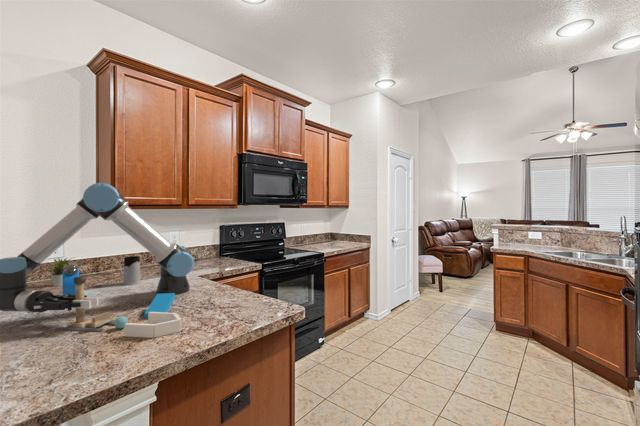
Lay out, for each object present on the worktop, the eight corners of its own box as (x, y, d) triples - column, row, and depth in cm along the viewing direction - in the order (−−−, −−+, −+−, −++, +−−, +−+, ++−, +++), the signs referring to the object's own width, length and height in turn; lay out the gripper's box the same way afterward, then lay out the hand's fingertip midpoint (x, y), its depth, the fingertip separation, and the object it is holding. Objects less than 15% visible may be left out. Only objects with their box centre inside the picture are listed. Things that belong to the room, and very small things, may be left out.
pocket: (124, 336, 100) (124, 324, 100) (150, 322, 112) (150, 311, 112) (169, 338, 98) (169, 326, 98) (190, 324, 110) (190, 313, 110)
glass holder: (131, 285, 168) (130, 258, 168) (112, 283, 173) (112, 257, 173) (144, 282, 177) (144, 256, 177) (126, 280, 181) (126, 255, 181)
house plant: (84, 282, 178) (84, 254, 178) (62, 288, 164) (61, 257, 164) (62, 281, 179) (61, 254, 179) (38, 287, 165) (37, 257, 165)
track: (55, 329, 106) (55, 327, 106) (73, 322, 113) (73, 319, 113) (101, 331, 104) (101, 329, 104) (117, 324, 111) (117, 321, 111)
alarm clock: (64, 294, 151) (63, 264, 151) (79, 292, 155) (79, 263, 155) (62, 300, 141) (62, 268, 140) (79, 298, 144) (79, 266, 144)
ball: (127, 325, 110) (127, 314, 110) (128, 328, 107) (128, 317, 107) (114, 327, 107) (113, 316, 107) (114, 331, 104) (114, 319, 104)
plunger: (64, 328, 106) (63, 279, 106) (80, 322, 113) (80, 275, 112) (95, 330, 105) (94, 279, 105) (110, 323, 111) (109, 275, 111)
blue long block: (165, 328, 119) (178, 302, 136) (163, 312, 117) (176, 288, 134) (146, 329, 118) (162, 303, 135) (144, 313, 116) (160, 289, 133)
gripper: (56, 304, 119) (111, 306, 116) (12, 318, 103) (74, 321, 101) (56, 285, 119) (111, 287, 116) (11, 296, 103) (73, 298, 101)
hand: (93, 303), depth 108 cm, fingers closed on plunger, 2 cm apart
